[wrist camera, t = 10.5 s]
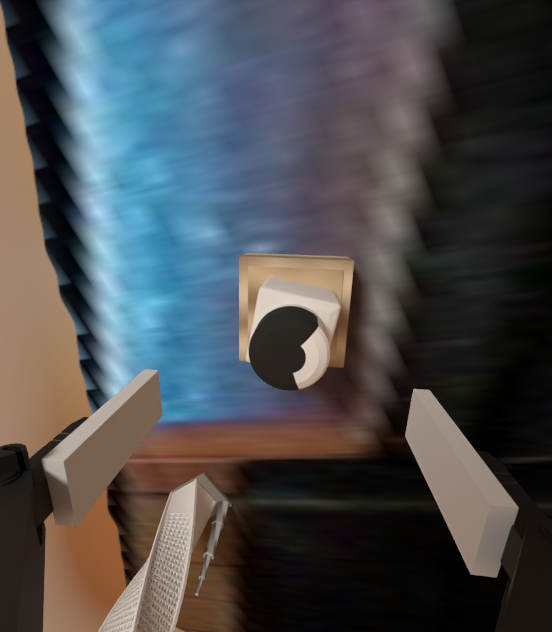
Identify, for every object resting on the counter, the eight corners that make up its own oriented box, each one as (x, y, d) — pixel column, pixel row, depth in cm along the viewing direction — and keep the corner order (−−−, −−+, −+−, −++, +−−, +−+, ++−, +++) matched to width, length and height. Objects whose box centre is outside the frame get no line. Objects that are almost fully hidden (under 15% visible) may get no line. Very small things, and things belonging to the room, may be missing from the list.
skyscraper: (192, 524, 50) (59, 869, 23) (160, 489, 48) (-22, 812, 22) (232, 503, 48) (138, 853, 21) (200, 466, 46) (55, 790, 20)
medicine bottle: (256, 336, 34) (231, 389, 23) (268, 275, 32) (248, 298, 21) (318, 350, 34) (324, 411, 23) (334, 289, 32) (351, 322, 21)
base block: (247, 252, 37) (238, 256, 32) (347, 256, 36) (354, 260, 31) (247, 345, 40) (239, 361, 35) (338, 351, 39) (343, 368, 34)
